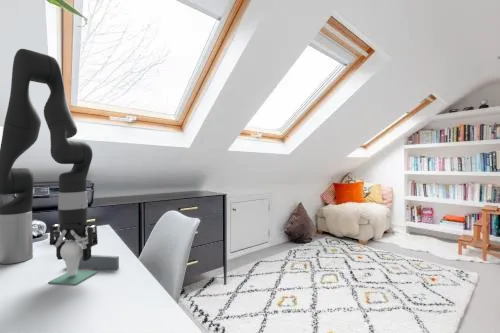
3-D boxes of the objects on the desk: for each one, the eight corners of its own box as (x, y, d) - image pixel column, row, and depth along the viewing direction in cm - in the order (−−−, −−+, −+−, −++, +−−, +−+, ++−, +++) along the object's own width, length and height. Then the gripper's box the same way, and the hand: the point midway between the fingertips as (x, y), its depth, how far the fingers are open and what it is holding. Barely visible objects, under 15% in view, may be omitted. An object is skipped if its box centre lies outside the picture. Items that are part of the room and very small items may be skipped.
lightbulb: (73, 281, 78) (72, 244, 78) (55, 279, 80) (54, 242, 79) (89, 273, 84) (88, 238, 84) (72, 271, 86) (72, 237, 85)
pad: (48, 283, 78) (48, 282, 78) (72, 271, 87) (72, 269, 87) (75, 285, 77) (75, 283, 77) (97, 272, 86) (97, 271, 86)
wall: (67, 266, 91) (67, 255, 91) (70, 265, 92) (70, 253, 92) (116, 269, 88) (116, 257, 88) (118, 268, 89) (118, 256, 89)
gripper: (41, 208, 79) (42, 262, 79) (85, 209, 77) (85, 265, 77) (62, 204, 86) (63, 254, 87) (103, 205, 84) (103, 256, 85)
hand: (73, 259), depth 82 cm, fingers open, 8 cm apart
